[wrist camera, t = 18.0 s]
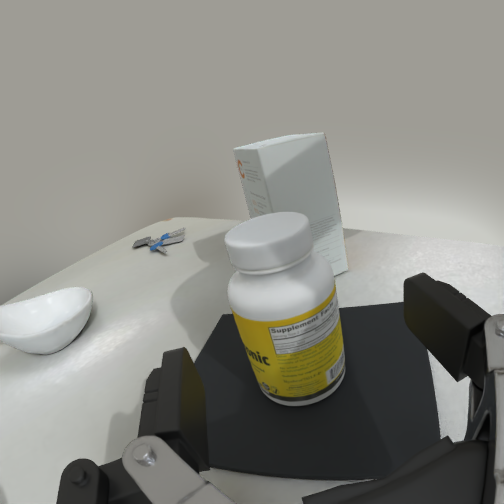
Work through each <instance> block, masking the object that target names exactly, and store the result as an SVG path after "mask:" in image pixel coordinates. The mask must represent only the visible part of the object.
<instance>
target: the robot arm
mask: <svg viewBox="0 0 504 504" xmlns="http://www.w3.org/2000/svg"><path fill="white" fill-rule="evenodd" d="M403 314H404V320H405V323H406V325H407V327H408V329H409V330H410V331H411V332H412V333H413V334H414V335H415V336H416V337H417V338H418V339H419V340H420V342H421V343H422V344H423V345H424V346H425V347H426V348H427V349H428V350H429V351H430V352H431V353H432V355H433V356H434V357H435V358H436V359H437V360H438V361H439V362H440V363H441V364H442V366H443V367H444V368H445V369H446V370H447V371H448V372H449V373H450V375H451V376H452V377H453V378H454V379H455V380H456V381H457V382H458V381H460V380H462V379H463V378H465V377H467V376H469V378H470V379H471V380H470V384H469V407H468V423H467V431H466V435H465V438H464V441H459V442H454V443H453V442H452V441H451V439H450V438H449V436H446V437H444V438H443V439H441V440H439V441H437V442H436V443H434V444H432V445H430V446H428V447H426V448H425V449H423V450H421V451H419V452H417V453H416V454H414V455H413V456H412V457H411V458H409V459H408V460H407V461H406V462H404V463H403V464H402V465H401V466H399V467H398V468H397V469H395V470H394V471H393V472H392V473H390V474H389V475H387V476H386V477H384V478H381V479H376V480H371V481H365V482H359V483H353V484H346V485H340V486H337V487H334V488H331V489H328V490H325V491H322V492H319V493H316V494H312V495H309V496H306V497H302V501H303V504H504V314H497V315H494V316H491V315H489V314H488V313H487V312H486V311H484V310H483V309H482V308H481V307H479V306H478V305H477V304H475V303H474V302H473V301H471V300H470V299H469V298H466V296H465V295H463V294H462V293H459V291H458V290H457V289H455V288H454V287H453V286H451V285H450V284H447V283H444V282H441V281H435V280H434V279H432V278H431V277H430V276H428V275H427V274H425V273H420V274H418V275H415V276H412V277H410V278H407V279H405V281H404V311H403ZM143 402H144V403H143V404H142V411H141V418H140V425H139V432H138V438H137V439H135V440H134V441H132V442H131V443H130V444H129V445H128V446H127V447H126V449H125V450H124V452H123V456H122V458H120V459H118V460H116V461H113V462H110V463H107V464H104V465H101V466H97V465H96V464H95V463H94V462H93V461H91V460H89V459H77V460H75V461H73V462H71V463H70V464H69V465H67V467H66V468H65V469H64V471H63V473H62V476H61V480H60V486H59V491H58V497H57V503H56V504H236V503H235V502H234V501H232V500H231V499H230V498H229V497H227V496H226V495H225V494H224V493H222V492H221V491H220V490H219V489H218V488H216V487H215V486H214V485H213V484H211V483H210V482H209V481H206V480H204V479H203V478H202V477H201V476H200V475H199V472H201V471H207V470H210V466H209V452H208V437H207V420H206V401H205V390H204V386H203V383H202V380H201V378H200V375H199V373H198V371H197V369H196V367H195V365H194V363H193V361H192V359H191V357H190V355H189V353H188V351H187V349H186V348H185V347H183V348H179V349H175V350H170V351H166V352H164V353H163V359H162V366H161V368H156V369H153V371H152V372H151V374H150V375H149V377H148V379H147V380H146V386H145V394H144V398H143Z"/></svg>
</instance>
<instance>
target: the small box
mask: <svg viewBox="0 0 504 504" xmlns="http://www.w3.org/2000/svg"><path fill="white" fill-rule="evenodd" d="M233 151H234V155H235V159H236V163H237V167H238V171H239V175H240V179H241V183H242V186H243V190H244V194H245V198H246V202H247V206H248V210H249V214H250V217H251V219H252V218H255V217H258V216H262V215H266V214H271V213H277V212H297V213H301V214H304V215H305V216H306V217H307V218H308V220H309V223H310V228H311V233H312V237H313V244H314V248H313V251H314V252H316V253H318V254H320V255H322V256H323V257H324V258H325V259H326V260H327V261H328V262H329V263H330V265H331V267H332V270H333V274H334V276H336V275H338V274H340V273H342V272H344V271H347V270H348V262H347V254H346V247H345V240H344V234H343V227H342V221H341V215H340V209H339V203H338V197H337V192H336V187H335V181H334V176H333V170H332V166H331V161H330V156H329V151H328V146H327V141H326V137H325V133H310V134H298V135H287V136H282V137H277V138H273V139H269V140H264V141H260V142H256V143H252V144H248V145H245V146H241V147H237V148H234V149H233Z"/></svg>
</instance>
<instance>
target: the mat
mask: <svg viewBox="0 0 504 504" xmlns="http://www.w3.org/2000/svg"><path fill="white" fill-rule="evenodd" d="M403 311H404V302H398V303H389V304H379V305H369V306H358V307H346V308H339V314H340V322H341V330H342V337H343V346H344V355H345V374H344V377H343V380H342V382H341V383H340V385H339V386H338V388H337V389H336V390H335V391H334V392H333V393H332V394H330V395H329V396H327V397H326V398H324V399H322V400H320V401H318V402H315V403H312V404H309V405H303V406H287V405H282V404H279V403H277V402H275V401H273V400H271V399H270V398H268V397H267V396H266V395H265V394H264V393H263V391H262V390H261V388H260V386H259V384H258V381H257V378H256V376H255V373H254V371H253V368H252V365H251V363H250V360H249V357H248V355H247V352H246V349H245V347H244V344H243V341H242V339H241V336H240V333H239V330H238V327H237V324H236V322H235V318H234V316H233V314H223V315H222V317H221V318H220V320H219V322H218V323H217V325H216V327H215V329H214V330H213V332H212V334H211V335H210V337H209V339H208V340H207V342H206V344H205V346H204V347H203V349H202V351H201V352H200V354H199V356H198V357H197V359H196V361H195V363H194V365H195V367H196V369H197V371H198V373H199V375H200V378H201V380H202V383H203V386H204V390H205V401H206V420H207V437H208V452H209V466H210V467H214V468H220V469H225V470H231V471H237V472H244V473H250V474H258V475H266V476H276V477H286V478H300V479H321V480H362V479H381V478H384V477H386V476H387V475H389V474H390V473H392V472H393V471H394V470H395V469H397V468H398V467H399V466H401V465H402V464H403V463H404V462H406V461H407V460H408V459H409V458H411V457H412V456H413V455H414V454H416V453H417V452H419V451H421V450H423V449H425V448H426V447H428V446H430V445H432V444H434V443H436V442H437V441H439V440H441V438H440V428H439V419H438V411H437V404H436V397H435V391H434V384H433V378H432V373H431V367H430V362H429V357H428V352H427V348H426V347H425V346H424V345H423V344H422V343H421V342H420V340H419V339H418V338H417V337H416V336H415V335H414V334H413V333H412V332H411V331H410V330H409V329H408V327H407V325H406V323H405V320H404V314H403Z"/></svg>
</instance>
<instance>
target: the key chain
mask: <svg viewBox="0 0 504 504" xmlns="http://www.w3.org/2000/svg"><path fill="white" fill-rule="evenodd" d="M184 230H185V228H182V229H180V230H177V231H175V232H172V233H167V234H165V235H163V236H162V237H161V238H157V239H155V240H150V238H151V237H146V238H143V239H140V240H137V241H136V242H135V243H134V245H133V247H137V246H140V245H144V244H148V245H149V246H152V247H151V248H150V250H154V249H156V248H157V249H159V250H160V251H162V252H164V253H166V252H167V251H166V250H165V249H163V248H162V247H160V246H161V245H165V244H170V243H175V242H180V241H182V240H183V238H184V236H185V235H183V236H178V237H173V238H170V236H171V235H174V234H177V233H178V232H181V231H184ZM162 240H163V241H162ZM154 242H155V243H154ZM151 243H152V244H151Z"/></svg>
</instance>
